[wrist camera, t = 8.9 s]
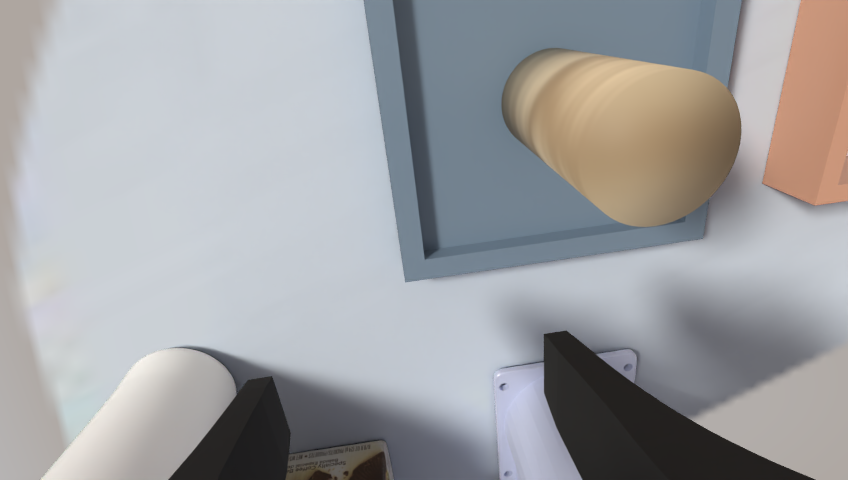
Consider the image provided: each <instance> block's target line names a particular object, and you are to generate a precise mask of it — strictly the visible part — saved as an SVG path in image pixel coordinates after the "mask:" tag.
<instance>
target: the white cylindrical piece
mask: <svg viewBox="0 0 848 480" xmlns="http://www.w3.org/2000/svg"><path fill="white" fill-rule="evenodd" d="M236 395H237V392H236V385H235V382H234V379H233V377H232V375H231V374H230V372H229V371H228V370H227V368H226V367H225V366H224V365H223V364H222V363H220V362H219V361H218V360H216V359H215V358H213V357H212V356H210V355H208V354H205V353H203V352H200V351H197V350H193V349H186V348H168V349H163V350H159V351H155V352H153V353H150V354H148V355H146V356H144V357H143V358H141V359H140V360H139V361H137V362H136V363H135V364H134V365H133V366H132V367H131V368H130V370H129V371H128V372H127V374H126V375H125V377H124V378H123V379H122V381H121V382H120V384H119V385H118V387H117V388H116V390H115V391H114V392H113V394H112V395H111V396H110V397H109V398H108V400H107V401H106V402H105V403H104V404H103V406H102V407H101V408H100V409H99V410H98V412H97V413H96V414H95V415H94V416H93V418H92V419H91V420H90V421H89V422H88V424H87V425H86V426H85V427H84V428H83V430H82V431H81V432H80V433H79V434H78V436H77V437H76V438H75V439H74V440H73V441H72V443H71V444H70V445H69V446H68V447H67V449H66V450H65V451H64V452H63V453H62V454H61V456H60V457H59V458H58V459H57V460H56V462H55V463H54V464H53V465H52V466H51V468H50V469H49V470H48V471H47V472H46V474H44V476H43V477H42V478H41V479H40V480H168V479H169V478H170V477H171V476H172V475H173V473H174V472H175V471H176V470H177V469H178V468H179V467H180V465H181V464H182V463H183V462H184V461H185V460H186V458H187V457H188V456H189V455H190V454H191V453H192V451H193V450H194V449H195V448H196V447H197V445H198V444H199V443H200V442H201V440H202V439H203V438H204V436H205V435H206V434H207V433H208V431H209V430H210V429H211V428H212V426H213V425H214V424H215V423H216V421H217V420H218V419H219V417H220V416H221V415H222V414H223V412H224V411H225V410H226V408H227V407H228V406H229V404H230V403H231V402H232V400H233V399H234V398H235V396H236Z"/></svg>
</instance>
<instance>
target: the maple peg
mask: <svg viewBox="0 0 848 480" xmlns="http://www.w3.org/2000/svg"><path fill="white" fill-rule="evenodd" d="M501 107H502V115H503V119H504V121H505V124H506V126H507V128H508V130H509V131H510V132H511V134H512V135H513V136H514V137H515V138H516V139H517V140H519V141H520V142H521V143H522V144H523V145H525V146H526V147H527V148H528V149H529V150H530V151H532V152H533V153H534V154H535V155H536V156H537V157H539V158H540V159H541V160H542V161H543V162H545V163H546V164H547V165H548V166H549V167H550V168H552V169H553V170H554V171H555V172H556V173H558V174H559V175H560V176H561V177H562V178H563V179H565V180H566V181H567V182H568V183H569V184H570V185H572V186H573V187H574V188H575V189H576V190H578V191H579V192H580V193H581V194H582V195H583V196H585V197H586V198H587V199H588V200H589V201H591V202H592V203H593V204H594V205H595V206H596V207H598V208H599V209H600V210H601V211H602V212H604V213H605V214H606V215H607V216H609V217H610V218H612V219H614V220H616V221H618V222H620V223H623V224H626V225H630V226H636V227H652V226H658V225H663V224H667V223H670V222H673V221H675V220H678V219H680V218H682V217H684V216H686V215H688V214H689V213H691V212H693V211H694V210H696V209H697V208H698V207H700V206H701V205H702V204H703V203H705V202H706V201H707V200H708V199H709V198H710V197H711V196H712V195H713V194H714V193H715V192H716V191H717V189H718V188H719V187H720V186H721V184H722V183H723V182H724V180H725V178H726V177H727V175H728V174H729V172H730V170H731V168H732V166H733V164H734V161H735V159H736V156H737V153H738V149H739V145H740V139H741V119H740V113H739V109H738V106H737V103H736V101H735V99H734V97H733V95H732V94H731V93H730V91H729V90H728V89H727V87H726V86H724V85H723V84H722V83H721V82H720V81H719V80H717V79H716V78H714V77H713V76H711V75H708V74H706V73H704V72H700V71H696V70H691V69H685V68H679V67H673V66H667V65H661V64H655V63H649V62H642V61H636V60H630V59H624V58H618V57H612V56H606V55H600V54H594V53H587V52H581V51H575V50H569V49H563V48H548V49H543V50H540V51H537V52H535V53H533V54H531V55H529V56H528V57H526V58H525V59H523V60H522V61H521V62H520V63H519V64H518V65H517V66H516V67H515V68H514V70H513V71H512V73H511V74H510V76H509V78H508V79H507V81H506V84H505V86H504V90H503V94H502V104H501Z"/></svg>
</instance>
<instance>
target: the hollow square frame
mask: <svg viewBox="0 0 848 480" xmlns="http://www.w3.org/2000/svg"><path fill="white" fill-rule="evenodd" d="M847 151H848V0H801V3H800V8H799V13H798V18H797V22H796V27H795V32H794V36H793V41H792V46H791V51H790V55H789V60H788V65H787V69H786V74H785V79H784V84H783V88H782V93H781V98H780V102H779V107H778V112H777V117H776V121H775V126H774V131H773V135H772V140H771V145H770V150H769V154H768V159H767V164H766V168H765V173H764V178H763V184H765V185H768V186H770V187H772V188H775V189H777V190H779V191H782V192H784V193H786V194H789V195H791V196H794V197H796V198H798V199H801V200H803V201H805V202H808V203H810V204H812V205H822V204H829V203H836V202H843V201H848V156H846V155H847Z"/></svg>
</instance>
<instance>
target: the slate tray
mask: <svg viewBox="0 0 848 480" xmlns="http://www.w3.org/2000/svg"><path fill="white" fill-rule="evenodd" d="M741 2H742V0H364V6H365V13H366V19H367V26H368V33H369V40H370V46H371V53H372V60H373V67H374V74H375V80H376V87H377V94H378V101H379V107H380V114H381V121H382V128H383V134H384V141H385V148H386V155H387V161H388V168H389V175H390V182H391V189H392V195H393V202H394V209H395V216H396V222H397V229H398V236H399V243H400V249H401V256H402V263H403V270H404V277H405V282H411V281H418V280H425V279H432V278H438V277H445V276H452V275H459V274H466V273H473V272H479V271H486V270H493V269H500V268H507V267H514V266H520V265H527V264H534V263H541V262H548V261H555V260H561V259H568V258H575V257H582V256H589V255H596V254H602V253H609V252H616V251H623V250H630V249H636V248H643V247H650V246H657V245H664V244H671V243H677V242H684V241H691V240H698V239H703V235H704V229H705V223H706V217H707V210H708V204H709V199H708V200H707V201H706V202H705V203H703V204H702V205H701V206H700V207H698V208H697V209H696V210H694V211H693V212H691V213H689V214H688V215H686V216H684V217H682V218H680V219H678V220H675V221H673V222H670V223H667V224H663V225H658V226H652V227H636V226H630V225H626V224H623V223H620V222H618V221H616V220H614V219H612V218H610V217H609V216H607V215H606V214H605V213H604V212H602V211H601V210H600V209H599V208H598V207H596V206H595V205H594V204H593V203H592V202H591V201H589V200H588V199H587V198H586V197H585V196H583V195H582V194H581V193H580V192H579V191H578V190H576V189H575V188H574V187H573V186H572V185H570V184H569V183H568V182H567V181H566V180H565V179H563V178H562V177H561V176H560V175H559V174H558V173H556V172H555V171H554V170H553V169H552V168H550V167H549V166H548V165H547V164H546V163H545V162H543V161H542V160H541V159H540V158H539V157H537V156H536V155H535V154H534V153H533V152H532V151H530V150H529V149H528V148H527V147H526V146H525V145H523V144H522V143H521V142H520V141H519V140H517V139H516V138H515V137H514V136H513V135H512V134H511V132H510V131H509V130H508V128H507V126H506V124H505V121H504V119H503V115H502V107H501V104H502V94H503V90H504V86H505V84H506V81H507V79H508V78H509V76H510V74H511V73H512V71H513V70H514V68H515V67H516V66H517V65H518V64H519V63H520V62H521V61H522V60H523V59H525V58H526V57H528V56H529V55H531V54H533V53H535V52H537V51H540V50H543V49H548V48H563V49H569V50H575V51H581V52H587V53H594V54H600V55H606V56H612V57H618V58H624V59H630V60H636V61H642V62H649V63H655V64H661V65H667V66H673V67H679V68H685V69H691V70H696V71H700V72H704V73H706V74H708V75H711V76H713V77H714V78H716V79H717V80H719V81H720V82H721V83H722V84H723V85H724V86H726V87H727V88H728V82H729V76H730V70H731V63H732V57H733V51H734V45H735V39H736V33H737V27H738V21H739V15H740V8H741Z"/></svg>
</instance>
